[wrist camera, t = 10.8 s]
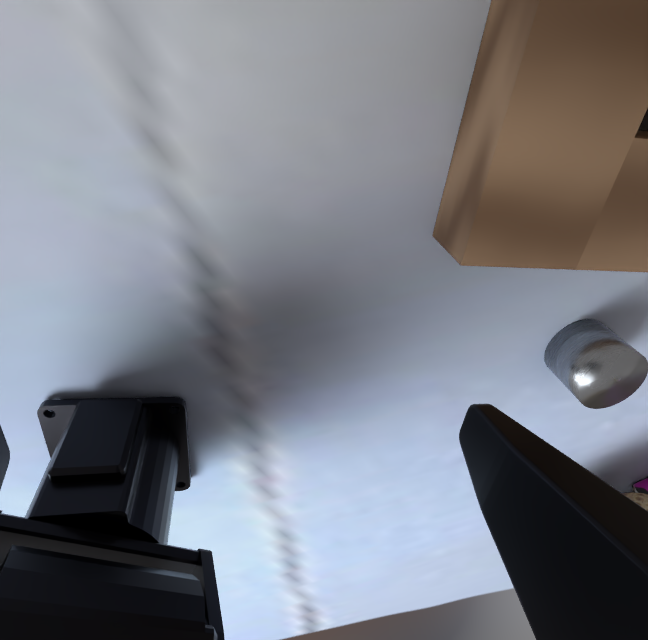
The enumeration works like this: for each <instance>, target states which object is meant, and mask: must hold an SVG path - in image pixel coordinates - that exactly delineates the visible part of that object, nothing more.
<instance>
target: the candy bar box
mask: <svg viewBox="0 0 648 640" xmlns="http://www.w3.org/2000/svg"><path fill="white" fill-rule="evenodd" d="M633 491H634V493H644V494H647V495H648V478H646V479H644V480H642V481H639V482H637V483H635V484H633Z"/></svg>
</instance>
